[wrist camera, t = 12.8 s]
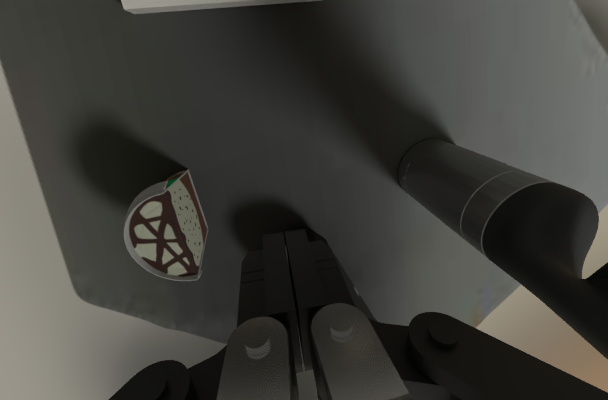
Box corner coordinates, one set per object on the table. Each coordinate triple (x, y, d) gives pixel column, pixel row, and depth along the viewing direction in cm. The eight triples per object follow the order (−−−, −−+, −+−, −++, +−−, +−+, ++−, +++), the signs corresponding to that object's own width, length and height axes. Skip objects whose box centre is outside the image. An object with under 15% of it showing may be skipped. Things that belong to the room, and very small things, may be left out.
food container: (135, 166, 35) (94, 199, 26) (184, 158, 35) (161, 188, 26) (169, 244, 40) (145, 294, 31) (211, 236, 41) (199, 283, 32)
